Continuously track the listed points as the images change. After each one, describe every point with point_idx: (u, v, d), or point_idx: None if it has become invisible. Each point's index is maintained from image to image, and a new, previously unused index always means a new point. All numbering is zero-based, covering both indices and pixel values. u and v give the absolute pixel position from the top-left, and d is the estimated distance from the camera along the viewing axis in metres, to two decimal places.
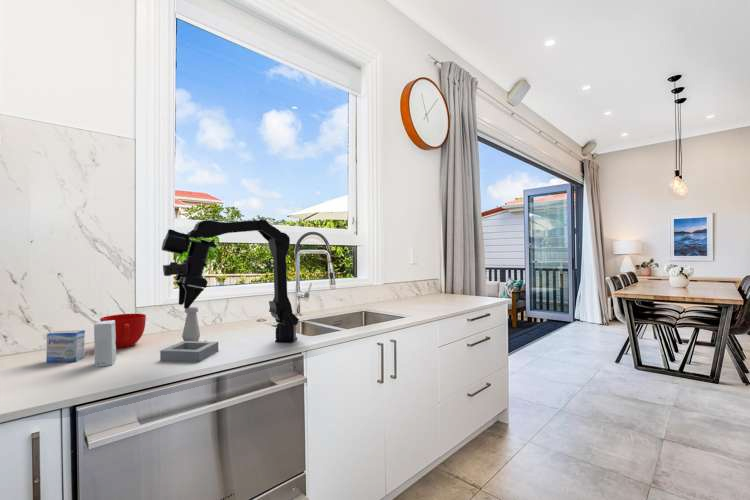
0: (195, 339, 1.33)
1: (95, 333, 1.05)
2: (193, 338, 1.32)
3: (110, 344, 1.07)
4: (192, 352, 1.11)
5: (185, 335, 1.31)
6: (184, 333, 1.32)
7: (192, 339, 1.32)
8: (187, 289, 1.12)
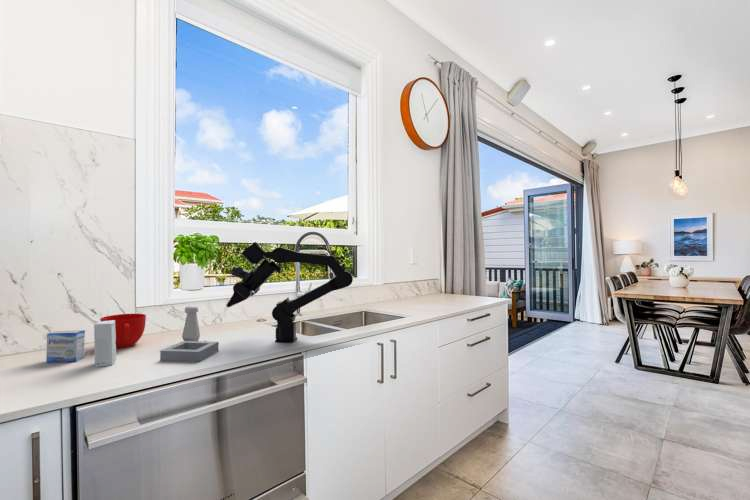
0: (195, 339, 1.33)
1: (95, 333, 1.05)
2: (193, 338, 1.32)
3: (110, 344, 1.07)
4: (192, 352, 1.11)
5: (185, 335, 1.31)
6: (184, 333, 1.32)
7: (192, 339, 1.32)
8: (234, 292, 1.29)
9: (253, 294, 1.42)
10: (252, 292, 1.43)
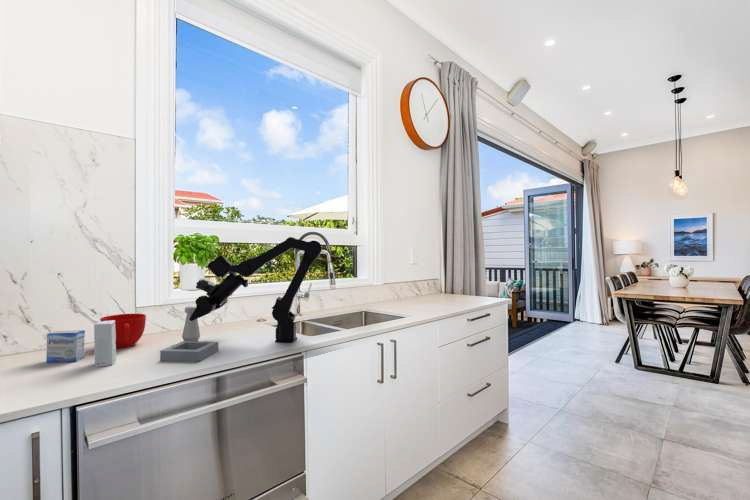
0: (195, 339, 1.33)
1: (95, 333, 1.05)
2: (193, 338, 1.32)
3: (110, 344, 1.07)
4: (192, 352, 1.11)
5: (185, 335, 1.31)
6: (184, 333, 1.32)
7: (192, 339, 1.32)
8: (197, 306, 1.28)
9: (219, 307, 1.40)
10: (219, 305, 1.42)
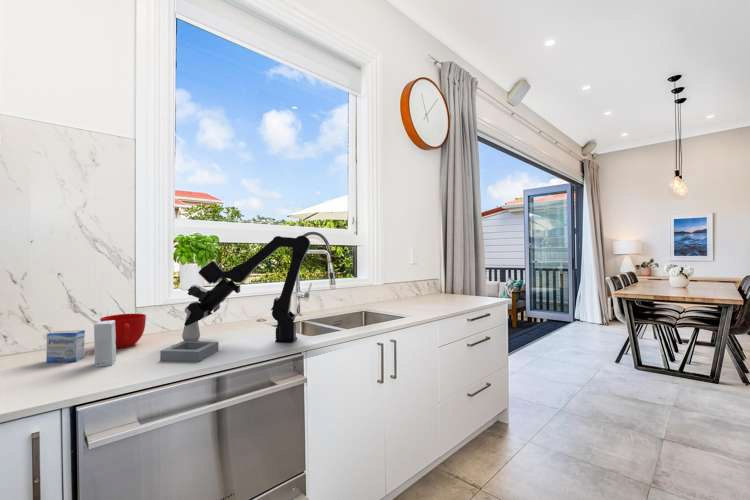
0: (195, 339, 1.33)
1: (95, 333, 1.05)
2: (192, 338, 1.32)
3: (110, 344, 1.07)
4: (192, 352, 1.11)
5: (185, 335, 1.31)
6: (184, 333, 1.32)
7: (192, 339, 1.32)
8: None
9: (210, 314, 1.37)
10: (209, 312, 1.38)
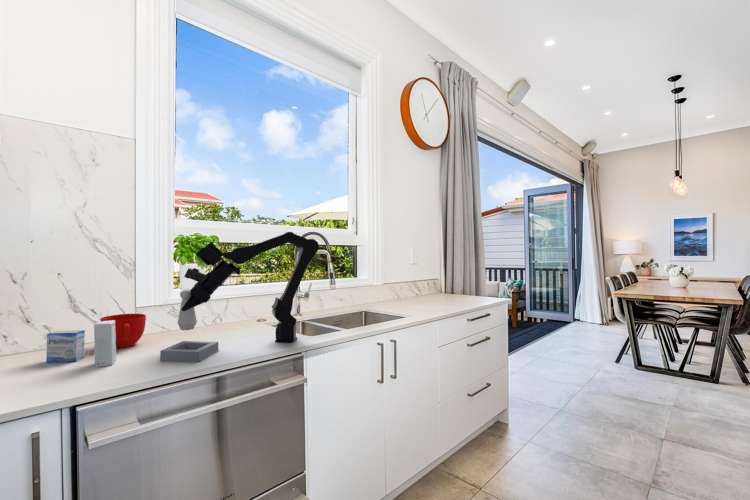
0: (193, 325, 1.25)
1: (95, 333, 1.05)
2: (191, 324, 1.24)
3: (110, 344, 1.07)
4: (192, 352, 1.11)
5: (182, 321, 1.22)
6: (181, 319, 1.23)
7: (190, 325, 1.24)
8: (192, 295, 1.22)
9: None
10: None
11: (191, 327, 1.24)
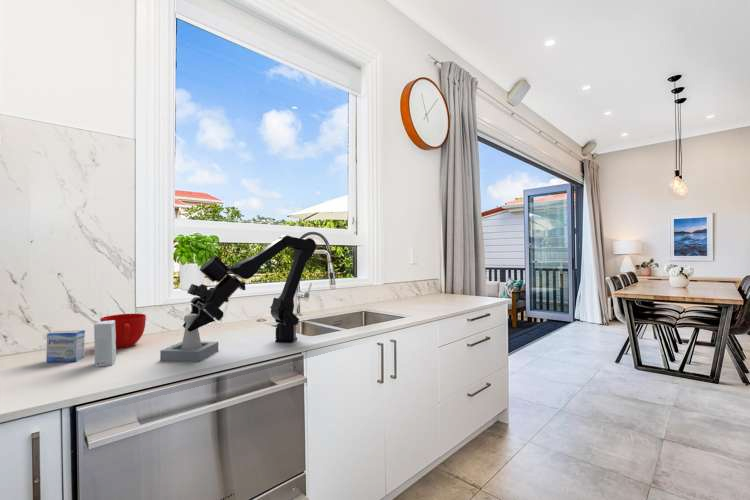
0: None
1: (95, 333, 1.05)
2: None
3: (110, 344, 1.07)
4: (192, 352, 1.11)
5: (189, 348, 1.15)
6: (187, 346, 1.15)
7: None
8: (201, 314, 1.14)
9: None
10: None
11: None
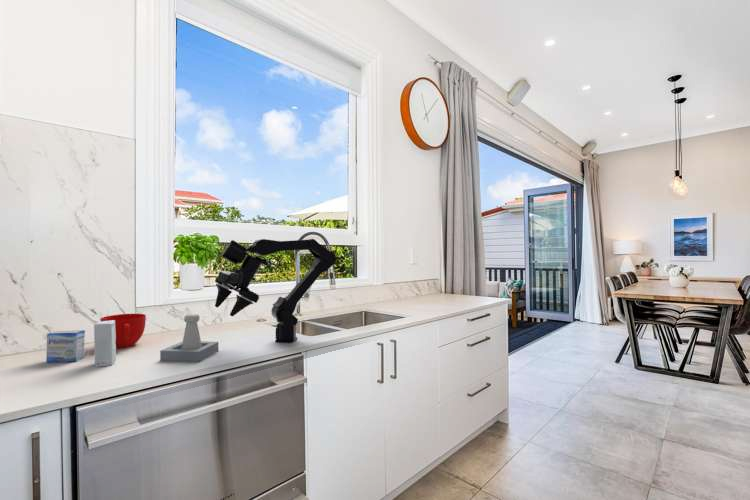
0: None
1: (95, 333, 1.05)
2: None
3: (110, 344, 1.07)
4: (192, 352, 1.11)
5: (189, 348, 1.15)
6: (187, 345, 1.15)
7: None
8: (240, 300, 1.23)
9: (231, 291, 1.34)
10: None
11: None
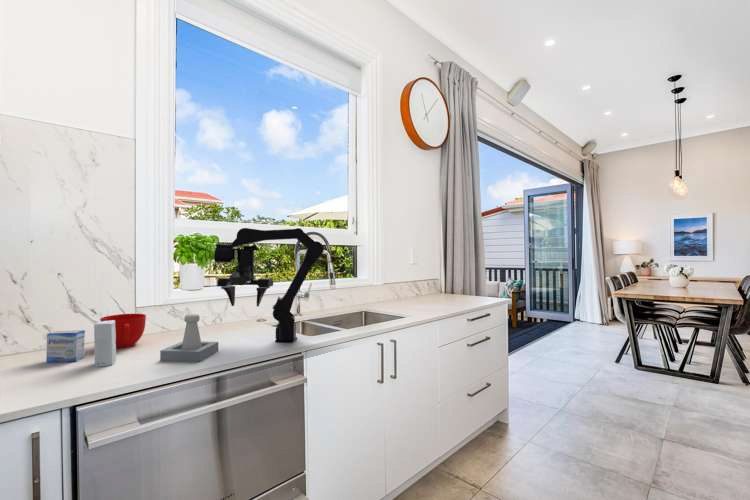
0: None
1: (95, 333, 1.05)
2: None
3: (110, 344, 1.07)
4: (192, 352, 1.11)
5: (189, 348, 1.15)
6: (187, 345, 1.15)
7: None
8: (261, 291, 1.33)
9: None
10: None
11: None
